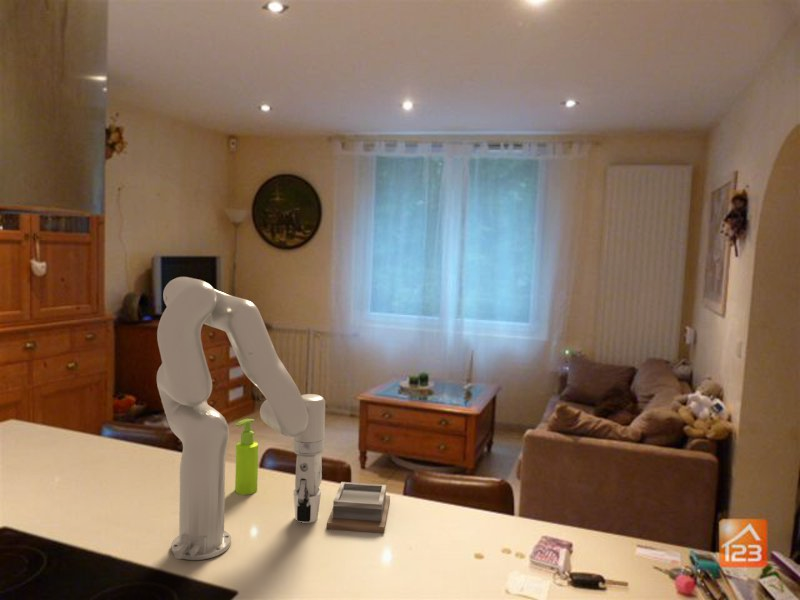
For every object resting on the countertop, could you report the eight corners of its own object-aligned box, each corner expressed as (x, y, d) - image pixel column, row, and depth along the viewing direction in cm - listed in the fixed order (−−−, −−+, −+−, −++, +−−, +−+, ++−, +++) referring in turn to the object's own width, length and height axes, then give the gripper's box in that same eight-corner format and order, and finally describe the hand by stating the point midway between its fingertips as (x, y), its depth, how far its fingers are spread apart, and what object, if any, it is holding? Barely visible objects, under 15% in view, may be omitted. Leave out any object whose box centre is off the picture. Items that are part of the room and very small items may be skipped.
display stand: (384, 533, 141) (385, 510, 141) (326, 529, 142) (327, 506, 142) (389, 501, 159) (390, 480, 159) (338, 497, 160) (339, 477, 159)
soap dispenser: (227, 492, 160) (229, 421, 158) (245, 484, 166) (247, 415, 164) (244, 498, 157) (245, 425, 155) (261, 489, 163) (263, 418, 161)
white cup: (317, 525, 144) (318, 497, 143) (290, 523, 144) (290, 496, 143) (322, 512, 151) (323, 486, 150) (295, 510, 151) (296, 484, 150)
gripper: (316, 458, 137) (314, 532, 139) (330, 434, 154) (327, 500, 156) (284, 456, 137) (282, 530, 139) (301, 433, 154) (299, 499, 156)
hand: (306, 514), depth 147 cm, fingers closed on white cup, 6 cm apart
